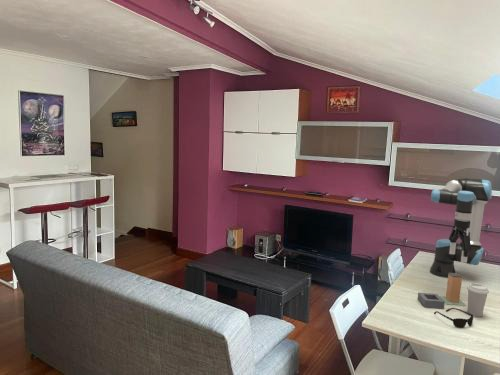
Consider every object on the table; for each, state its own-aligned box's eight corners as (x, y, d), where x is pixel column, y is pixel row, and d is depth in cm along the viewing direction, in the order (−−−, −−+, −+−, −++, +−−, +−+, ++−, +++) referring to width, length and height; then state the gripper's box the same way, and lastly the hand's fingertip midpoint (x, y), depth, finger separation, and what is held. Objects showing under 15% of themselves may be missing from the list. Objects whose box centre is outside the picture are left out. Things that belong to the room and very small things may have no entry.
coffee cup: (482, 311, 195) (486, 284, 193) (487, 319, 186) (491, 291, 184) (462, 308, 198) (465, 281, 196) (466, 316, 189) (469, 288, 187)
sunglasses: (457, 330, 175) (458, 320, 175) (429, 314, 190) (430, 305, 189) (476, 325, 181) (478, 315, 180) (448, 310, 195) (449, 301, 194)
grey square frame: (417, 299, 207) (418, 292, 206) (436, 300, 206) (436, 293, 206) (424, 307, 197) (425, 300, 196) (443, 309, 196) (444, 301, 196)
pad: (439, 296, 212) (439, 296, 212) (457, 297, 211) (457, 297, 211) (446, 304, 202) (446, 303, 202) (466, 305, 201) (466, 305, 201)
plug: (445, 298, 209) (448, 272, 207) (454, 298, 209) (458, 273, 207) (449, 302, 204) (452, 275, 202) (458, 302, 204) (462, 276, 202)
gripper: (445, 214, 213) (440, 250, 216) (466, 225, 188) (461, 265, 191) (458, 215, 212) (454, 251, 215) (482, 226, 187) (476, 266, 190)
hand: (457, 258), depth 203 cm, fingers open, 13 cm apart
